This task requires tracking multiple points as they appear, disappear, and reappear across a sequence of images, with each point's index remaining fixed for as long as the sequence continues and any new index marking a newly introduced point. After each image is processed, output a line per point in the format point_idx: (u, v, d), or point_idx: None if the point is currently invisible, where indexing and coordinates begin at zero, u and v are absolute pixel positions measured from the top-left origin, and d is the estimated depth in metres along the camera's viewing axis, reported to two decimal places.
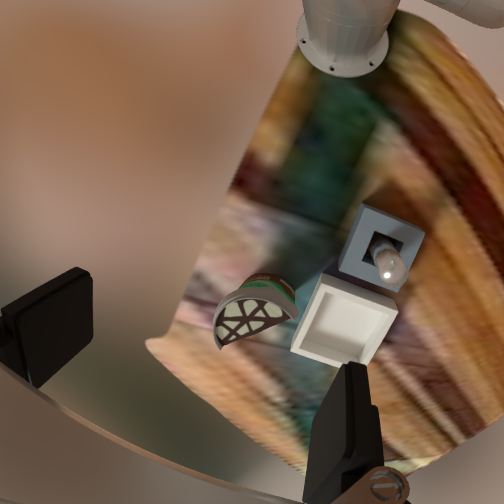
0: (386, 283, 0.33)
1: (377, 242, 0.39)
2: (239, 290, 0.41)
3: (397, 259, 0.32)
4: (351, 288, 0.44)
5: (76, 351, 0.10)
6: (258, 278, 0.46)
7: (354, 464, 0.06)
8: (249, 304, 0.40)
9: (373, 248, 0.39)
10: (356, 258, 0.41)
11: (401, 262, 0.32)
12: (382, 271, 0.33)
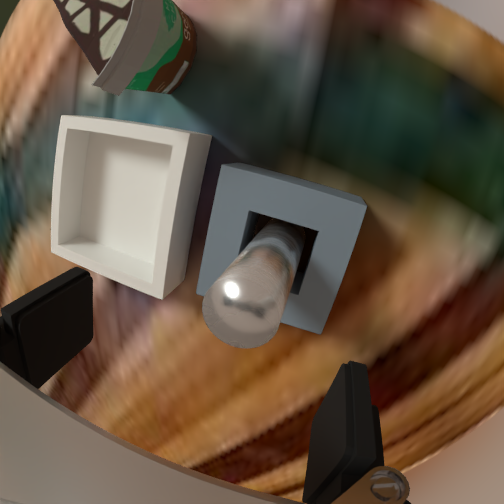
0: (211, 295, 0.13)
1: (294, 240, 0.19)
2: None
3: (280, 317, 0.13)
4: (189, 198, 0.23)
5: (76, 351, 0.10)
6: (184, 20, 0.18)
7: (354, 464, 0.06)
8: None
9: (281, 233, 0.19)
10: (253, 198, 0.19)
11: (274, 328, 0.13)
12: (242, 281, 0.12)
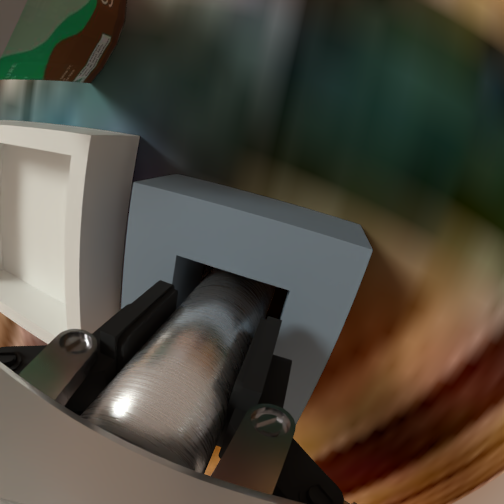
0: None
1: (248, 305, 0.12)
2: None
3: None
4: (105, 229, 0.15)
5: None
6: None
7: (244, 398, 0.07)
8: None
9: (225, 297, 0.11)
10: (181, 236, 0.12)
11: None
12: None
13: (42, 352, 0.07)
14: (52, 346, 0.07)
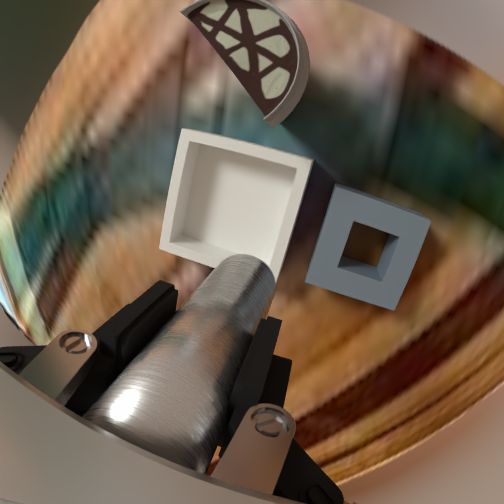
0: None
1: (248, 306, 0.12)
2: (299, 29, 0.19)
3: None
4: (299, 208, 0.29)
5: None
6: None
7: (244, 398, 0.07)
8: (279, 44, 0.19)
9: (226, 298, 0.11)
10: (357, 212, 0.26)
11: None
12: None
13: (42, 352, 0.07)
14: (52, 346, 0.07)
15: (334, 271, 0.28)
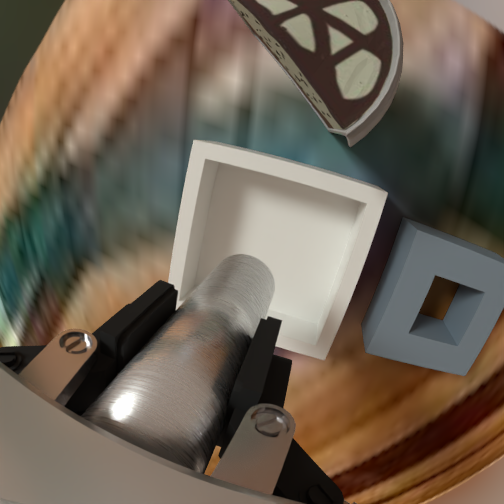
0: None
1: (247, 306, 0.12)
2: None
3: None
4: None
5: None
6: None
7: (244, 398, 0.07)
8: (361, 14, 0.10)
9: (224, 298, 0.11)
10: (440, 264, 0.18)
11: None
12: None
13: (42, 352, 0.07)
14: (52, 346, 0.07)
15: (404, 338, 0.20)
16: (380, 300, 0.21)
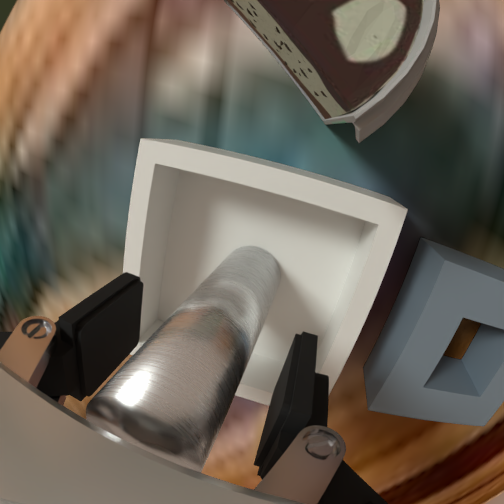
0: (94, 412, 0.06)
1: (256, 290, 0.13)
2: None
3: (203, 458, 0.06)
4: None
5: (124, 356, 0.11)
6: None
7: (291, 421, 0.07)
8: None
9: (236, 282, 0.13)
10: (471, 303, 0.13)
11: None
12: (131, 405, 0.06)
13: (7, 341, 0.06)
14: (15, 335, 0.07)
15: (417, 392, 0.14)
16: (389, 345, 0.16)
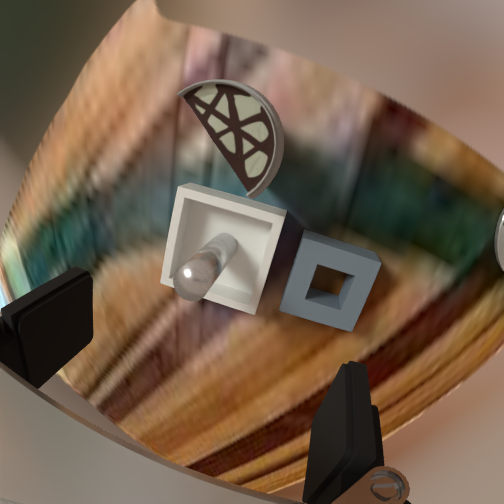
0: (177, 275, 0.27)
1: (225, 248, 0.34)
2: (276, 114, 0.27)
3: (208, 285, 0.27)
4: None
5: (76, 351, 0.10)
6: None
7: (354, 464, 0.06)
8: (260, 130, 0.26)
9: (217, 244, 0.34)
10: (320, 257, 0.34)
11: (205, 290, 0.27)
12: (190, 268, 0.27)
13: None
14: None
15: (302, 302, 0.36)
16: (288, 279, 0.38)
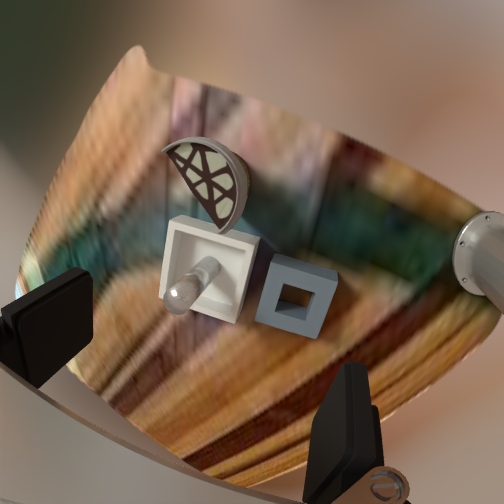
0: (166, 295, 0.36)
1: (207, 270, 0.42)
2: (240, 165, 0.34)
3: (189, 303, 0.35)
4: (249, 272, 0.45)
5: (76, 351, 0.10)
6: (247, 174, 0.40)
7: (354, 464, 0.06)
8: (226, 180, 0.34)
9: (201, 268, 0.42)
10: (285, 278, 0.42)
11: (187, 307, 0.35)
12: (175, 290, 0.35)
13: None
14: None
15: (272, 314, 0.44)
16: None
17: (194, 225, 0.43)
